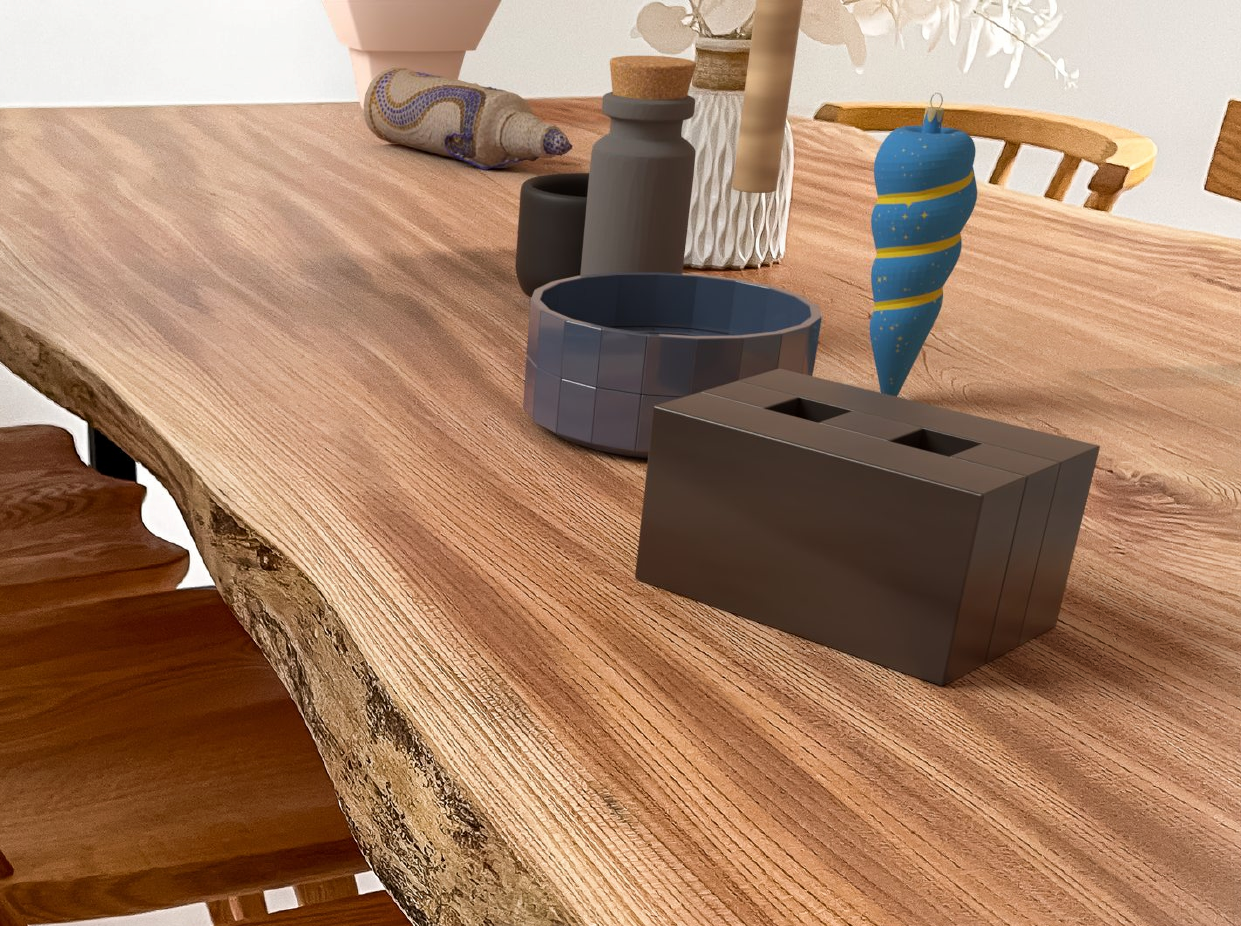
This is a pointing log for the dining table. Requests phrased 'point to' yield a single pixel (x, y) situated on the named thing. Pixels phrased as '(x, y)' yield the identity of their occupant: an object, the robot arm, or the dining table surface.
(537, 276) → the mug
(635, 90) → the bottle
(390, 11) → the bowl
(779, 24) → the stirring stick
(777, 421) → the utensil block
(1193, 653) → the dining table surface
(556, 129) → the decorative bottle
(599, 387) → the mixing bowl
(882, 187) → the ornament
